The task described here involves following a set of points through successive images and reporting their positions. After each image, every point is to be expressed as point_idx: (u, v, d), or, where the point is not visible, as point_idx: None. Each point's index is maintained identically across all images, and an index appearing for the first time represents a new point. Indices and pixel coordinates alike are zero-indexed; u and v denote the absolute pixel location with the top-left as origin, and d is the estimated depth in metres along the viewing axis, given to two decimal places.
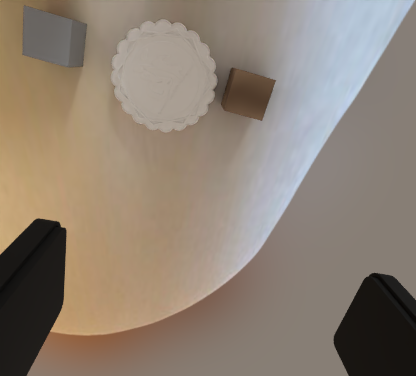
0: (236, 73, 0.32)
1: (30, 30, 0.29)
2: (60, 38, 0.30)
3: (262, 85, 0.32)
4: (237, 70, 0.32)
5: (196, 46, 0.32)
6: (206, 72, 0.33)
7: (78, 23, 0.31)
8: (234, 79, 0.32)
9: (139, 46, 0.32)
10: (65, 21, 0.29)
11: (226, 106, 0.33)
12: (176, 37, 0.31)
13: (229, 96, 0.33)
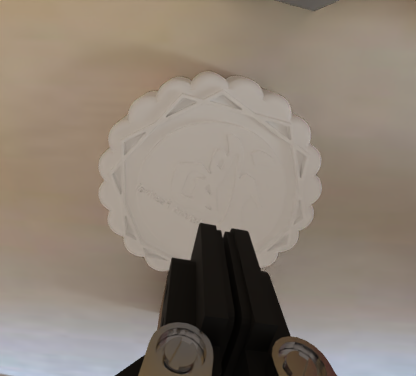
0: None
1: None
2: None
3: None
4: None
5: None
6: None
7: (333, 0, 0.13)
8: None
9: (277, 146, 0.15)
10: None
11: None
12: (290, 216, 0.16)
13: None
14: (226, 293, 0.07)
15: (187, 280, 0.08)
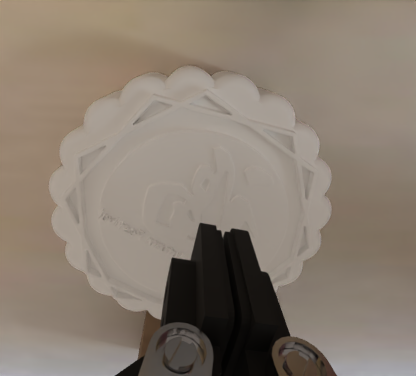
0: None
1: None
2: None
3: None
4: None
5: None
6: None
7: None
8: None
9: (277, 161, 0.12)
10: None
11: None
12: (292, 245, 0.13)
13: None
14: (226, 293, 0.07)
15: (187, 280, 0.08)
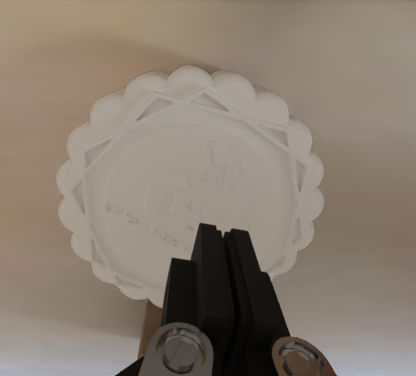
0: None
1: None
2: None
3: None
4: None
5: None
6: None
7: None
8: None
9: (272, 155, 0.12)
10: None
11: None
12: (287, 236, 0.14)
13: None
14: (226, 293, 0.07)
15: (187, 280, 0.08)
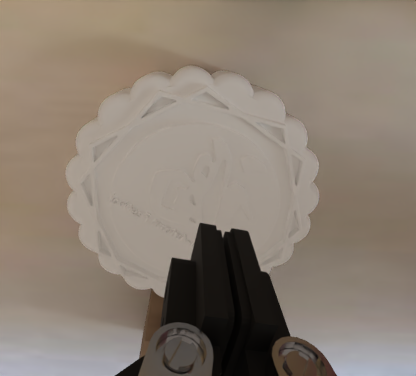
0: None
1: None
2: None
3: None
4: None
5: None
6: None
7: None
8: None
9: (270, 151, 0.13)
10: None
11: None
12: (284, 228, 0.15)
13: None
14: (226, 293, 0.07)
15: (187, 280, 0.08)
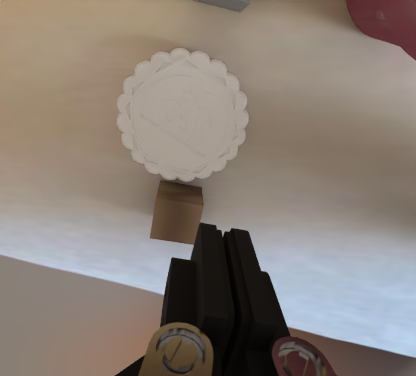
0: (198, 206, 0.28)
1: None
2: None
3: (188, 233, 0.29)
4: (201, 207, 0.28)
5: (222, 158, 0.28)
6: (195, 170, 0.28)
7: (243, 7, 0.24)
8: (191, 205, 0.28)
9: (219, 90, 0.26)
10: None
11: (161, 199, 0.28)
12: (231, 135, 0.27)
13: (173, 201, 0.28)
14: (226, 293, 0.07)
15: (187, 280, 0.08)
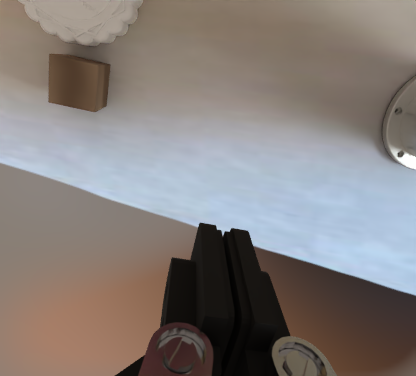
0: (93, 65, 0.28)
1: None
2: None
3: (87, 98, 0.29)
4: (96, 66, 0.28)
5: (116, 15, 0.28)
6: (91, 29, 0.28)
7: None
8: (86, 64, 0.28)
9: None
10: None
11: (54, 56, 0.28)
12: None
13: (66, 59, 0.28)
14: (226, 293, 0.07)
15: (187, 280, 0.08)
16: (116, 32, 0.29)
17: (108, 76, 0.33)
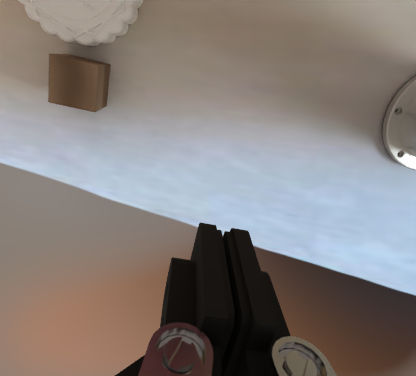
0: (93, 65, 0.28)
1: None
2: None
3: (87, 98, 0.29)
4: (96, 66, 0.28)
5: (116, 15, 0.28)
6: (91, 29, 0.28)
7: None
8: (86, 64, 0.28)
9: None
10: None
11: (54, 56, 0.28)
12: None
13: (66, 59, 0.28)
14: (226, 293, 0.07)
15: (187, 280, 0.08)
16: (116, 32, 0.29)
17: (108, 76, 0.33)
